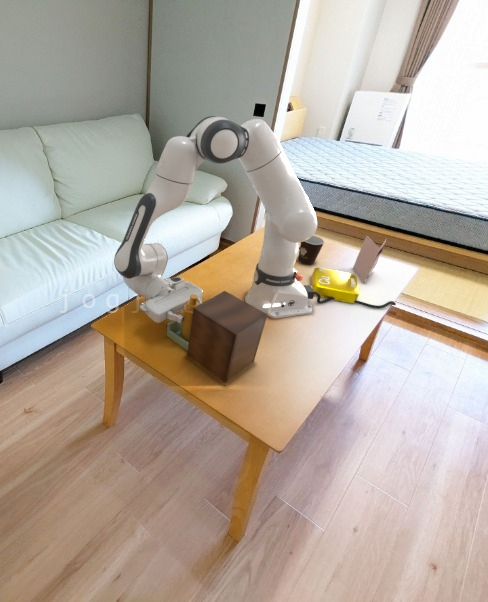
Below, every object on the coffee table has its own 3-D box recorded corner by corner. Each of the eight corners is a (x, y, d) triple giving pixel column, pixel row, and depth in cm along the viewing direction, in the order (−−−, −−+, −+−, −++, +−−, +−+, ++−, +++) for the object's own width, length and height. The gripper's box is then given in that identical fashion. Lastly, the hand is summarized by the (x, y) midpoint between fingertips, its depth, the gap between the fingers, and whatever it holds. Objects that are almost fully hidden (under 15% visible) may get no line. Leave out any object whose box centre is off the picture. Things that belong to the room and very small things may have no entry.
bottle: (195, 330, 117) (200, 291, 109) (197, 341, 113) (204, 301, 105) (179, 330, 117) (183, 291, 108) (181, 341, 113) (186, 301, 104)
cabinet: (186, 357, 109) (193, 307, 98) (215, 339, 116) (224, 290, 105) (224, 386, 100) (236, 334, 90) (253, 364, 107) (267, 314, 96)
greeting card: (366, 284, 142) (382, 249, 134) (345, 277, 146) (360, 243, 137) (373, 272, 149) (389, 239, 141) (353, 266, 153) (367, 233, 145)
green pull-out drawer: (161, 333, 117) (162, 319, 114) (183, 320, 123) (185, 306, 119) (198, 361, 107) (201, 346, 104) (221, 345, 113) (224, 331, 109)
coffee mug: (320, 266, 153) (328, 244, 147) (299, 266, 153) (306, 244, 147) (309, 253, 163) (316, 232, 157) (289, 252, 163) (295, 231, 157)
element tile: (355, 305, 131) (361, 293, 129) (310, 295, 136) (314, 284, 133) (353, 283, 143) (357, 273, 140) (311, 275, 147) (314, 265, 144)
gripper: (136, 297, 111) (169, 319, 102) (184, 274, 122) (217, 293, 113) (136, 313, 115) (167, 336, 106) (182, 290, 125) (214, 309, 117)
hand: (193, 314), depth 110 cm, fingers open, 8 cm apart
